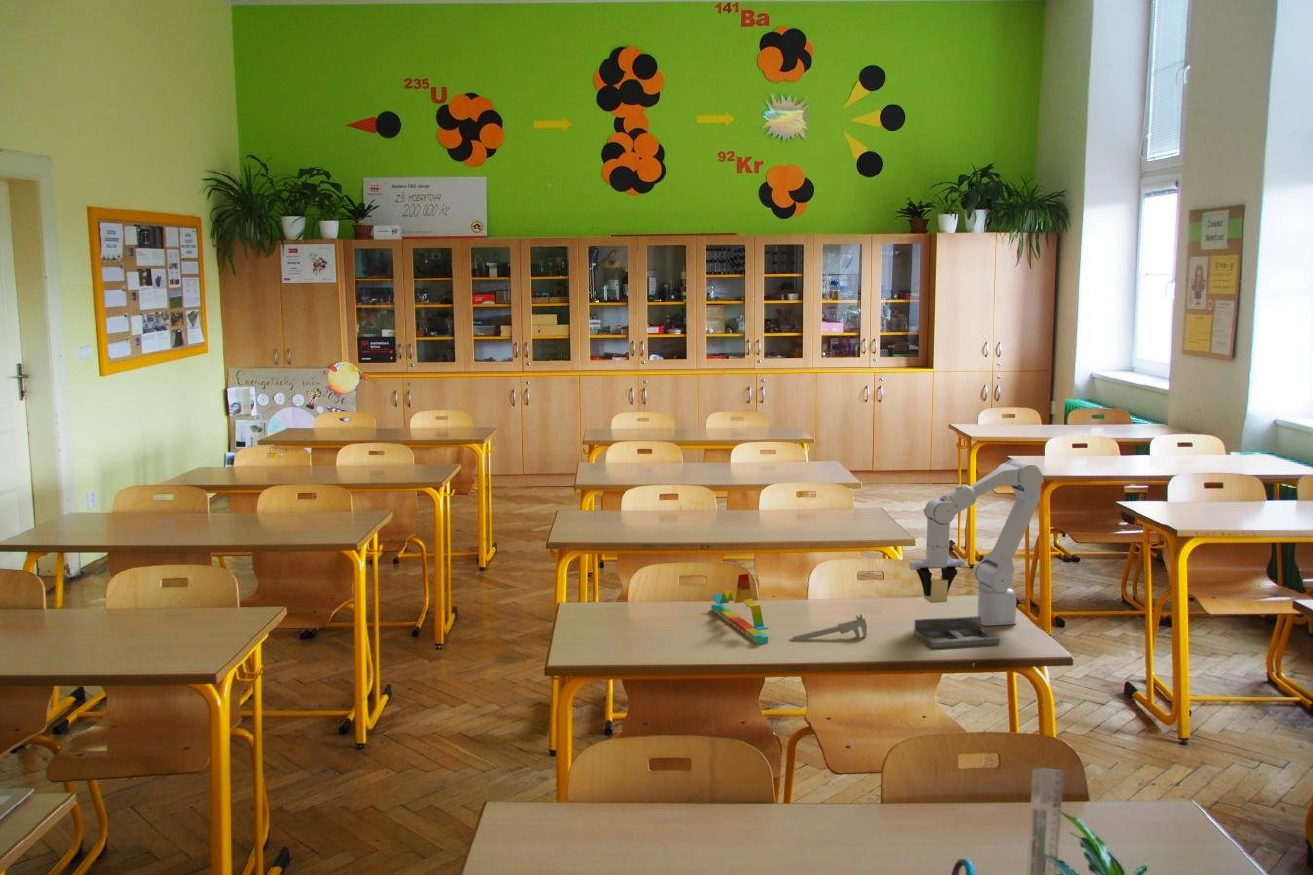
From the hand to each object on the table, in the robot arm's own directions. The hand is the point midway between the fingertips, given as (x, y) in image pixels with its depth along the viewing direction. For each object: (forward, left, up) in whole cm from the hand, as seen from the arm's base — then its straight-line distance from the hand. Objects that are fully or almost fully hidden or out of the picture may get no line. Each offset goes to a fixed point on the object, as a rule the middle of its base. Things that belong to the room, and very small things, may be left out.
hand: (935, 594), depth 291 cm
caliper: (+31, +5, -9) cm, 33 cm away
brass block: (0, 0, -1) cm, 1 cm away
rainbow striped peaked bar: (+52, -9, -9) cm, 53 cm away
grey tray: (-1, +12, -8) cm, 15 cm away
